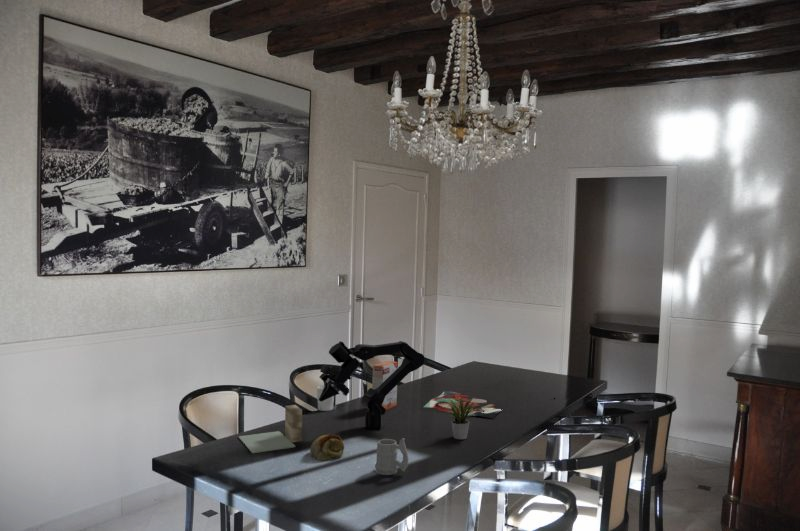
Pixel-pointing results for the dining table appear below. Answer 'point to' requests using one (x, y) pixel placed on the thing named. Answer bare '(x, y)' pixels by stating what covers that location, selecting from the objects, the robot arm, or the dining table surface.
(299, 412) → the tan rounded block
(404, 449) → the mug
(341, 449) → the pastry
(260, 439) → the mat
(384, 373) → the cracker box
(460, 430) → the house plant
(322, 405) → the white cup
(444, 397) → the multicolor patterned cloth
